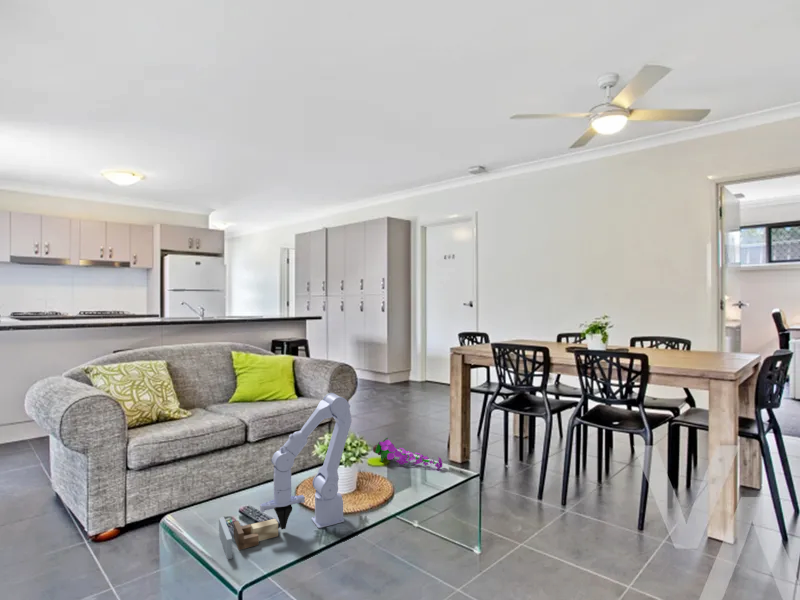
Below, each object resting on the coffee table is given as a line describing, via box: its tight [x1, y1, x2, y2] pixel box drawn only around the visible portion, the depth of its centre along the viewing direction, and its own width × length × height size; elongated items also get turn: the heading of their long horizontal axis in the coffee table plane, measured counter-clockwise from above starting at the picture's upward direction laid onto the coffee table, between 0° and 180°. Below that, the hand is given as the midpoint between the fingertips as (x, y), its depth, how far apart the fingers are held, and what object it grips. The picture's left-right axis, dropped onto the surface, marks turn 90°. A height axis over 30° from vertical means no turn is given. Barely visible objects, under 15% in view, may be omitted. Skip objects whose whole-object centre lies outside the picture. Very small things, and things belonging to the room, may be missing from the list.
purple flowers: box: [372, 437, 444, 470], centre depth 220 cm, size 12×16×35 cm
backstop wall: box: [218, 516, 233, 560], centre depth 148 cm, size 2×16×6 cm, turn 29°
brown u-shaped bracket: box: [233, 520, 260, 551], centre depth 152 cm, size 6×9×5 cm, turn 29°
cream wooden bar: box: [250, 518, 279, 542], centre depth 154 cm, size 8×4×4 cm, turn 120°
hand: (282, 527), depth 157 cm, fingers closed
